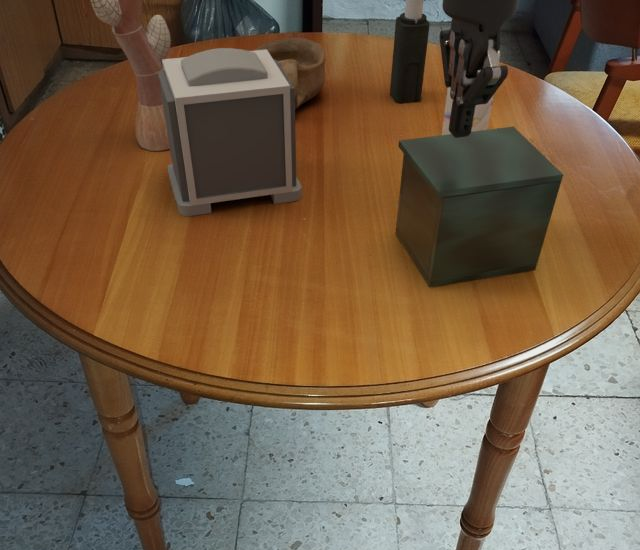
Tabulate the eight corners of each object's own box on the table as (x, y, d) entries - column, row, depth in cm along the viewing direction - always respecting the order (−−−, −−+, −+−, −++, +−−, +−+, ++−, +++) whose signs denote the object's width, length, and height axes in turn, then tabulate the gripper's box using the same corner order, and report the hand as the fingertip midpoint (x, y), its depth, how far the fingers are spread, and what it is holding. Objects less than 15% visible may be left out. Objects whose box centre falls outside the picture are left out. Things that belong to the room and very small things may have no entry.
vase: (182, 128, 116) (151, -87, 94) (188, 148, 111) (157, -74, 89) (119, 135, 114) (73, -83, 92) (123, 155, 109) (75, -70, 87)
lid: (437, 198, 77) (438, 191, 76) (398, 146, 85) (398, 140, 85) (561, 181, 80) (563, 174, 79) (512, 132, 88) (513, 126, 88)
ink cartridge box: (457, 137, 115) (473, 43, 104) (485, 144, 113) (504, 49, 102) (436, 157, 110) (450, 60, 99) (464, 165, 108) (481, 68, 97)
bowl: (349, 109, 118) (335, 51, 111) (275, 139, 119) (256, 84, 111) (323, 69, 130) (309, 14, 122) (255, 97, 130) (236, 44, 122)
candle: (414, 90, 127) (431, -71, 109) (422, 101, 124) (442, -63, 105) (388, 92, 127) (401, -69, 108) (395, 103, 123) (410, -61, 105)
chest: (429, 287, 86) (443, 198, 77) (395, 233, 95) (404, 146, 85) (535, 270, 89) (561, 181, 80) (493, 218, 97) (512, 133, 88)
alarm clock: (282, 158, 109) (278, 34, 95) (303, 199, 100) (302, 69, 87) (168, 173, 105) (146, 46, 92) (180, 217, 97) (159, 84, 83)
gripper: (554, -25, 62) (513, 156, 75) (492, -61, 71) (465, 107, 84) (479, -18, 61) (451, 164, 74) (425, -56, 70) (408, 114, 83)
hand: (459, 134), depth 79 cm, fingers closed
